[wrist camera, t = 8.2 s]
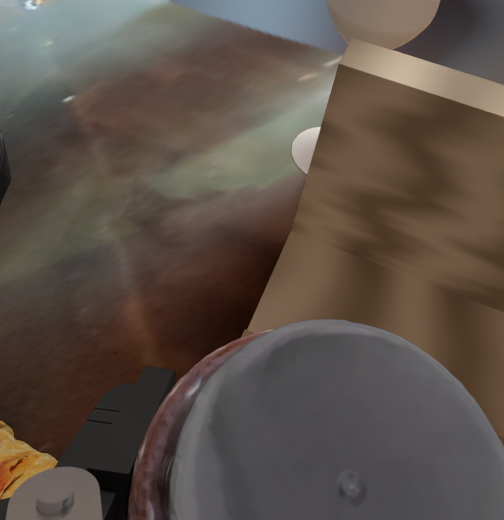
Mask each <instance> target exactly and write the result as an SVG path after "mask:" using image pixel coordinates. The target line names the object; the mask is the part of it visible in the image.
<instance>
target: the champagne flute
mask: <svg viewBox="0 0 504 520" xmlns="http://www.w3.org/2000/svg"><path fill="white" fill-rule="evenodd" d="M326 1H327V6H328V9H329V13H330V16H331V18H332V21H333V23H334V25H335V28H336V29H337V30H338V32H339V33H340V35H341V36H342V38H343V39H344V40H345V42H346V43H347V44H348V45H349V43H350V41H351V39H352V38H355V39H358V40H361V41H364V42H368V43H371V44H374V45H377V46H380V47H383V48H387V49H390V50H392V49H394V48H397V47H400V46H402V45H404V44H405V43H407V42H408V41H410V40H411V39H413V38H414V37H416V36H417V35H418V34H419V33H420V32H422V31H423V30H424V29H425V28H426V27H427V26H428V25H429V24H430V22H431V21H432V20H433V18H434V16H435V14H436V11H437V8H438V6H439V2H440V0H326ZM320 128H321V127H316V128H311V129H308V130H305V131H304V132H302V133H300V134H299V135H298V136H297V137H296V138H295V140H294V142H293V144H292V157H293V159H294V161H295V163H296V165H297V166H298V167H299V168H300V169H301V170H302V171H303V172H304V173H305V174H307V173H308V170H309V167H310V163H311V160H312V156H313V153H314V149H315V146H316V142H317V139H318V135H319V132H320Z"/></svg>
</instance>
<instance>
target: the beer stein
mask: <svg viewBox="0 0 504 520" xmlns="http://www.w3.org/2000/svg"><path fill="white" fill-rule="evenodd" d="M10 181H11V175H10V169H9V163H8V157H7V153H6V149H5V144H4V140H3V136H2V133H1V130H0V204H1V202H2V199H3V197H4V195H5V193H6V190H7V188H8V186H9V183H10Z"/></svg>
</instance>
